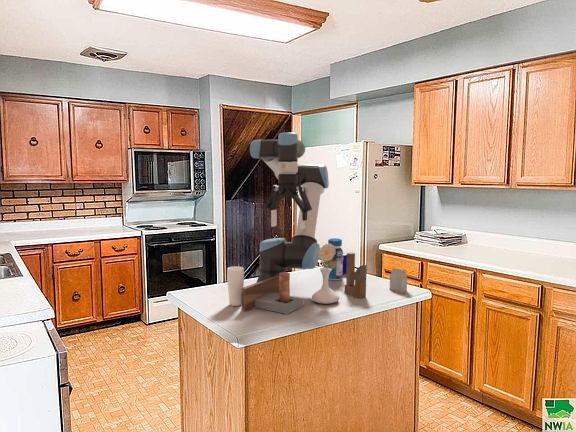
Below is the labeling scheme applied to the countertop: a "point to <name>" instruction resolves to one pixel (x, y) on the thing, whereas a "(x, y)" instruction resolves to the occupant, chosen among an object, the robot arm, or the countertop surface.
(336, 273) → the beverage bottle
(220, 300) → the countertop surface
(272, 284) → the backstop board
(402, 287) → the tea bag
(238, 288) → the drinking glass
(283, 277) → the dowel
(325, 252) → the flower in vase
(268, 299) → the holed block
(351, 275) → the wooden block
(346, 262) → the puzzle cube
